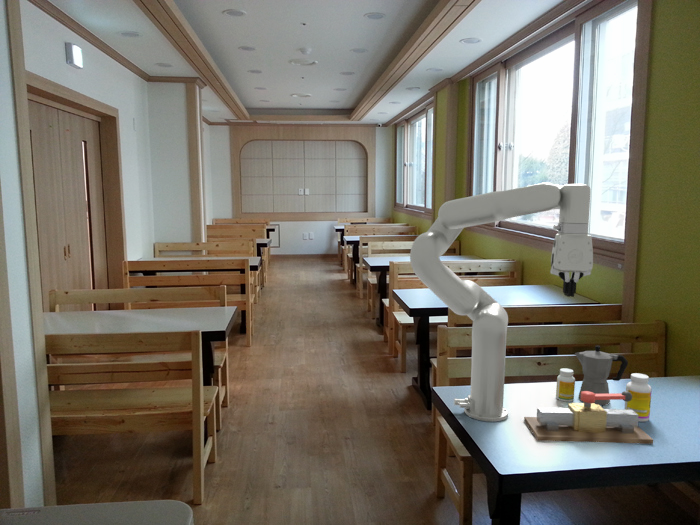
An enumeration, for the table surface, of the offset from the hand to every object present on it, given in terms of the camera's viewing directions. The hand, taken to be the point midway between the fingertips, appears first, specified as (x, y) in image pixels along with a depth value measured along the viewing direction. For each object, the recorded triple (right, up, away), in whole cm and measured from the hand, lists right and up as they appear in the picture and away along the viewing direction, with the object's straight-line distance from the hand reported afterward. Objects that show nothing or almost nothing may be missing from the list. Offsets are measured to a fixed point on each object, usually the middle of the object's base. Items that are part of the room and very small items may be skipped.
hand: (569, 295), depth 153 cm
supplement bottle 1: (+8, -35, +24) cm, 43 cm away
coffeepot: (+18, -35, +23) cm, 46 cm away
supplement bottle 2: (+24, -37, +10) cm, 45 cm away
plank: (+4, -38, -1) cm, 38 cm away
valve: (+4, -38, -1) cm, 38 cm away
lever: (+10, -30, -1) cm, 32 cm away
